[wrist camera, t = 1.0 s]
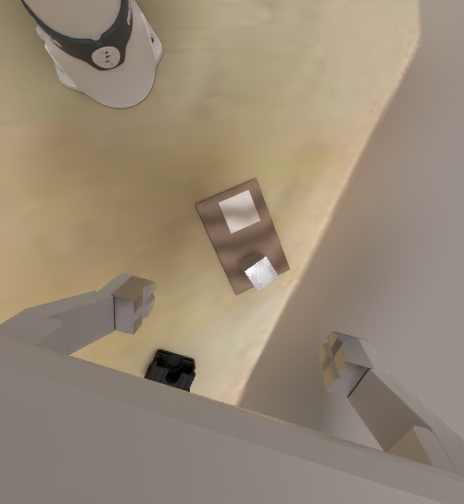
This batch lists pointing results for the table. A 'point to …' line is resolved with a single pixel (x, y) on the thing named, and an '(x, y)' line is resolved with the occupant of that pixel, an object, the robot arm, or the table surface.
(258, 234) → the walnut board
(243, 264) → the tall grey pillar
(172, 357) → the end cap
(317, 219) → the table surface
